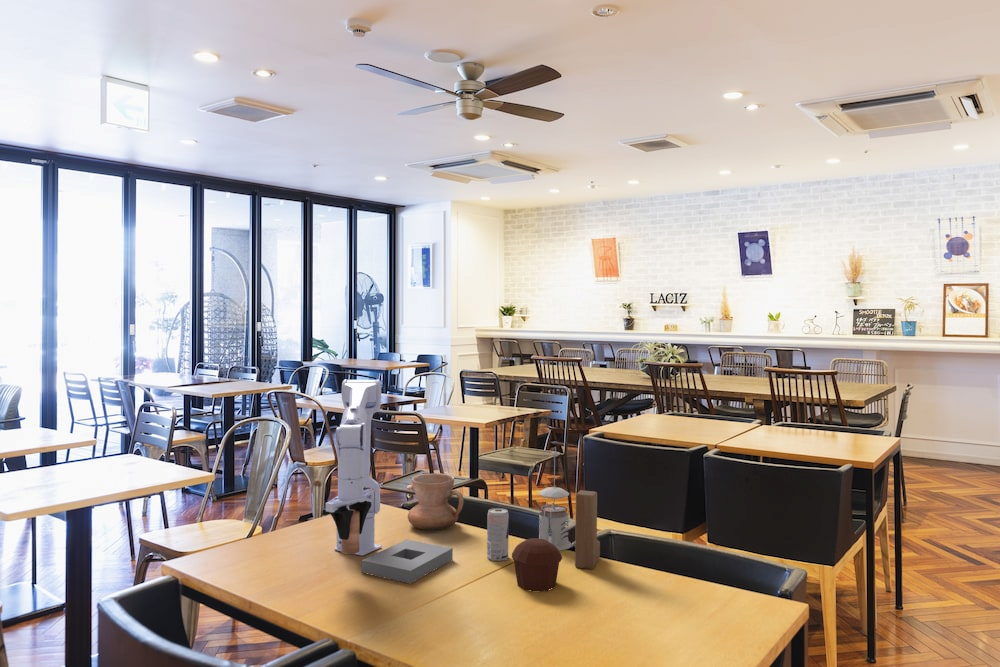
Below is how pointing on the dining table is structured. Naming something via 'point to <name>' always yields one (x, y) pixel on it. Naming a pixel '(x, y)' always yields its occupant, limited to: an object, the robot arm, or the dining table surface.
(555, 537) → the french press
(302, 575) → the dining table surface
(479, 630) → the dining table surface
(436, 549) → the grey flat holed block
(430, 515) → the ceramic jug
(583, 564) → the wooden block
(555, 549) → the muffin
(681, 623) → the dining table surface
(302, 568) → the dining table surface
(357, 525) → the terracotta peg
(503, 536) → the energy drink
